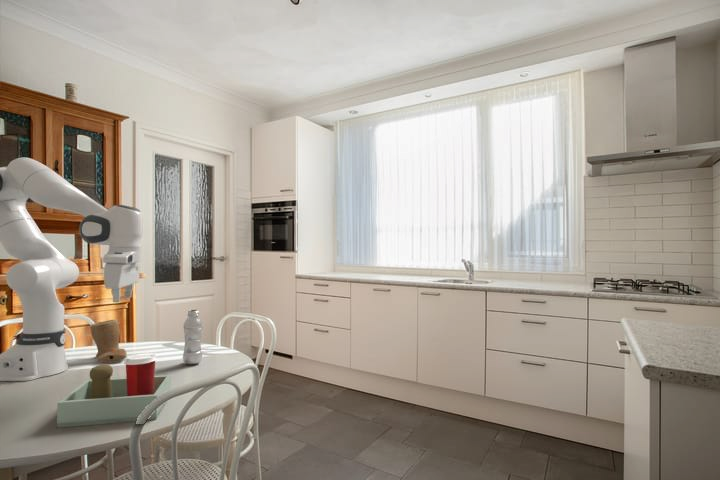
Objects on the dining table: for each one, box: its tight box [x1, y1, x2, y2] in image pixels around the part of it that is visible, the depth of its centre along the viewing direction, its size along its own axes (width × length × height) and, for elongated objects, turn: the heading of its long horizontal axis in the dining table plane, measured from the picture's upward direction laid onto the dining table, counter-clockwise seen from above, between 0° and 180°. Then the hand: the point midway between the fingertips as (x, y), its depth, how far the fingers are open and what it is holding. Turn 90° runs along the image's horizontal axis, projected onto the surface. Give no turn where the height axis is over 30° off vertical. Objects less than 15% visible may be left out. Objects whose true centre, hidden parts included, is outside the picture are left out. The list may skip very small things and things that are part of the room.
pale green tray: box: [56, 374, 172, 428], centre depth 104 cm, size 22×16×6 cm
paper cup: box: [123, 353, 157, 396], centre depth 105 cm, size 8×8×14 cm
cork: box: [89, 364, 114, 399], centre depth 103 cm, size 6×6×11 cm
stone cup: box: [90, 319, 128, 364], centre depth 148 cm, size 15×12×15 cm
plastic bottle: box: [182, 309, 203, 365], centre depth 144 cm, size 6×7×20 cm
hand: (122, 299), depth 121 cm, fingers open, 8 cm apart
